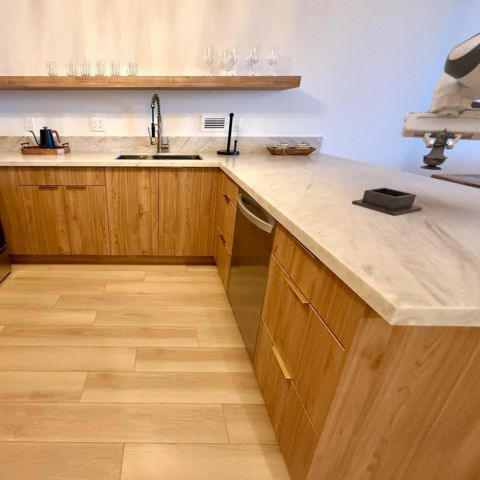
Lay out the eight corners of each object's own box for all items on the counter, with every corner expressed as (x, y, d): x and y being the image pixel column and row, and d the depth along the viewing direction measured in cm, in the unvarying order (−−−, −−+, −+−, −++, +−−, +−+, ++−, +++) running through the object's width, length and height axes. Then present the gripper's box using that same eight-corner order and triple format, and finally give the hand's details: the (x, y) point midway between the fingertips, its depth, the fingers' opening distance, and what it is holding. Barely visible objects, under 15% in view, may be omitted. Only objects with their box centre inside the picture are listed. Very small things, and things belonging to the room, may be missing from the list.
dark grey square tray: (421, 210, 94) (427, 195, 92) (394, 215, 89) (399, 200, 87) (377, 199, 106) (382, 185, 104) (351, 203, 101) (355, 189, 99)
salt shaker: (423, 169, 90) (438, 128, 85) (415, 166, 95) (429, 127, 90) (446, 170, 88) (463, 128, 83) (437, 167, 93) (453, 127, 88)
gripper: (408, 104, 94) (399, 138, 90) (498, 104, 83) (491, 142, 80) (403, 118, 99) (394, 151, 96) (486, 120, 88) (479, 157, 85)
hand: (439, 147), depth 88 cm, fingers closed on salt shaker, 3 cm apart
